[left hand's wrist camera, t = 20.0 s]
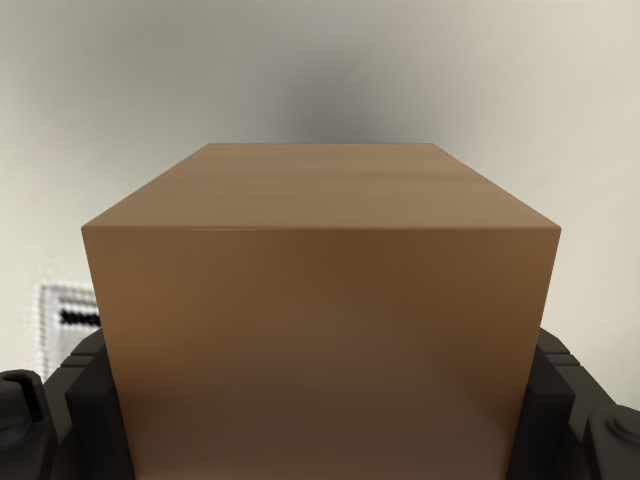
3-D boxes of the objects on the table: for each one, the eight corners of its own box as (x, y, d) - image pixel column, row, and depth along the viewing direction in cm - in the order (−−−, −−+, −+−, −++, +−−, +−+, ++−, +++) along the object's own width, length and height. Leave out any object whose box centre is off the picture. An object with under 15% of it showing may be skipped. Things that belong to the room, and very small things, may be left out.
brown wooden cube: (207, 143, 14) (78, 226, 7) (433, 143, 14) (563, 227, 7) (227, 360, 18) (156, 585, 10) (412, 361, 18) (484, 586, 10)
